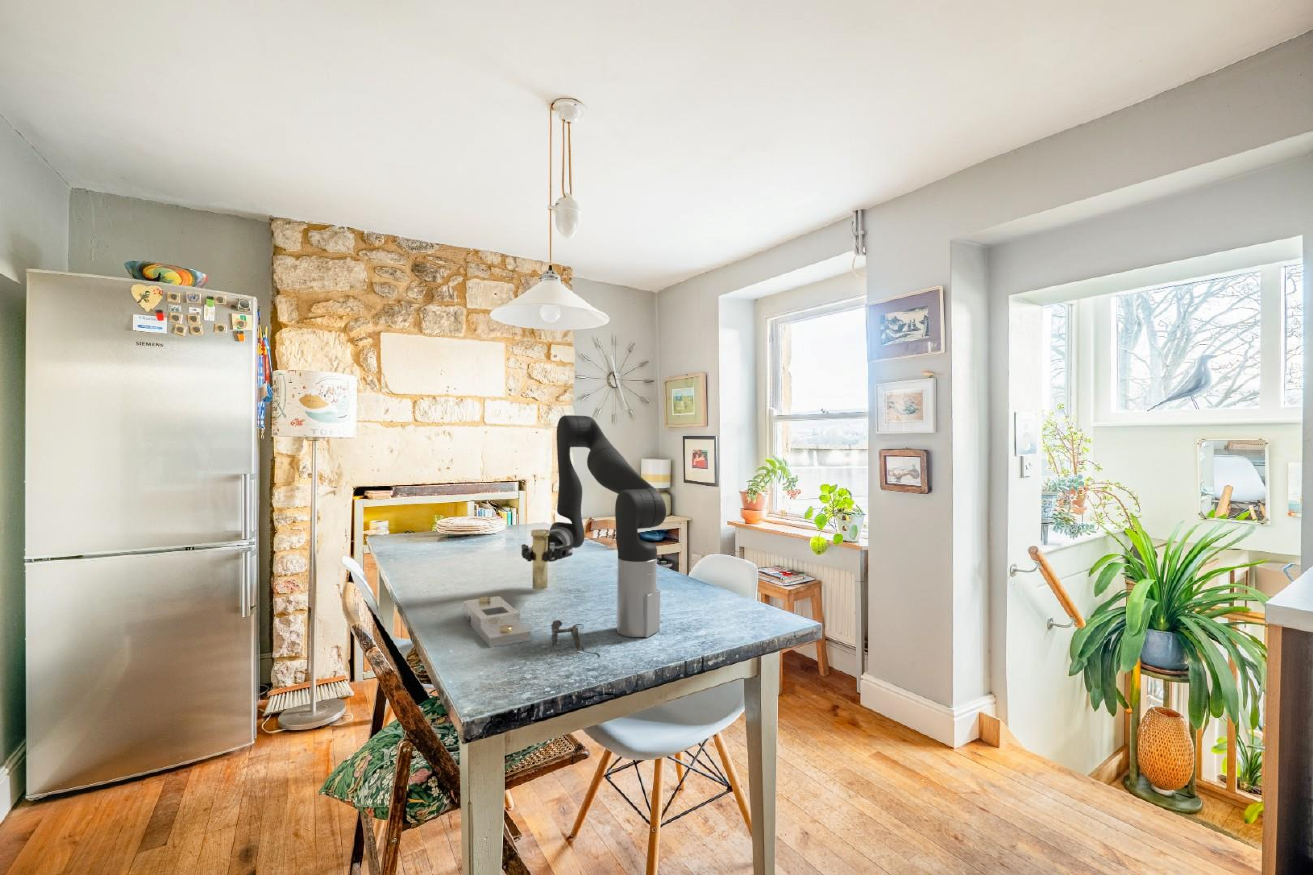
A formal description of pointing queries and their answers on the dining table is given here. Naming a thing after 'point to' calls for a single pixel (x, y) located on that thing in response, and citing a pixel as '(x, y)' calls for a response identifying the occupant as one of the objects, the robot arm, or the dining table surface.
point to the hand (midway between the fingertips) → (537, 557)
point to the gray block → (495, 621)
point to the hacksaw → (574, 629)
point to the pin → (540, 558)
